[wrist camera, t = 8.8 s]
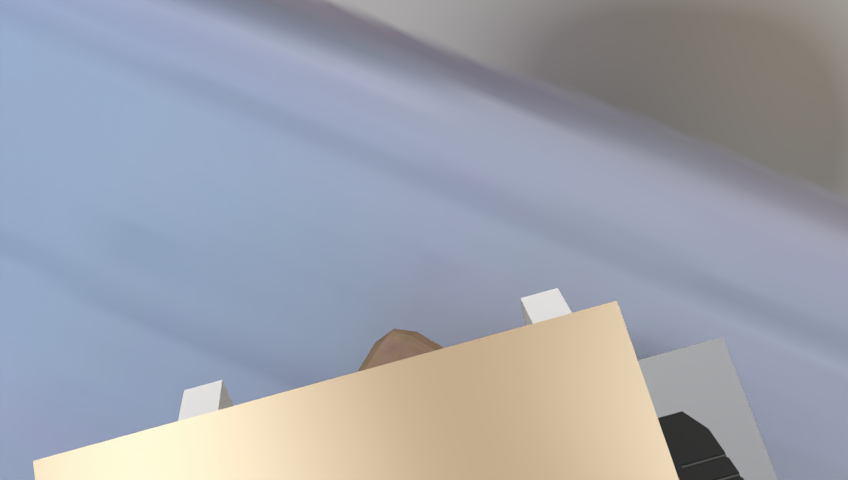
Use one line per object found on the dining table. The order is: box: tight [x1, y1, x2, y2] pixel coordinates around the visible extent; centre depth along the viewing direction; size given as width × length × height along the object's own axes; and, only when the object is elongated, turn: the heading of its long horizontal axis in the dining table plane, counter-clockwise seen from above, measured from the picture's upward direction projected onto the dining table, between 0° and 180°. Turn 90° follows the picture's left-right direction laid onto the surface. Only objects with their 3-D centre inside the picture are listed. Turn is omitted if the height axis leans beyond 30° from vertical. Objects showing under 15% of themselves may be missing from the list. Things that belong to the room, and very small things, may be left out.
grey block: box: [638, 337, 778, 480], centre depth 37 cm, size 6×6×12 cm
